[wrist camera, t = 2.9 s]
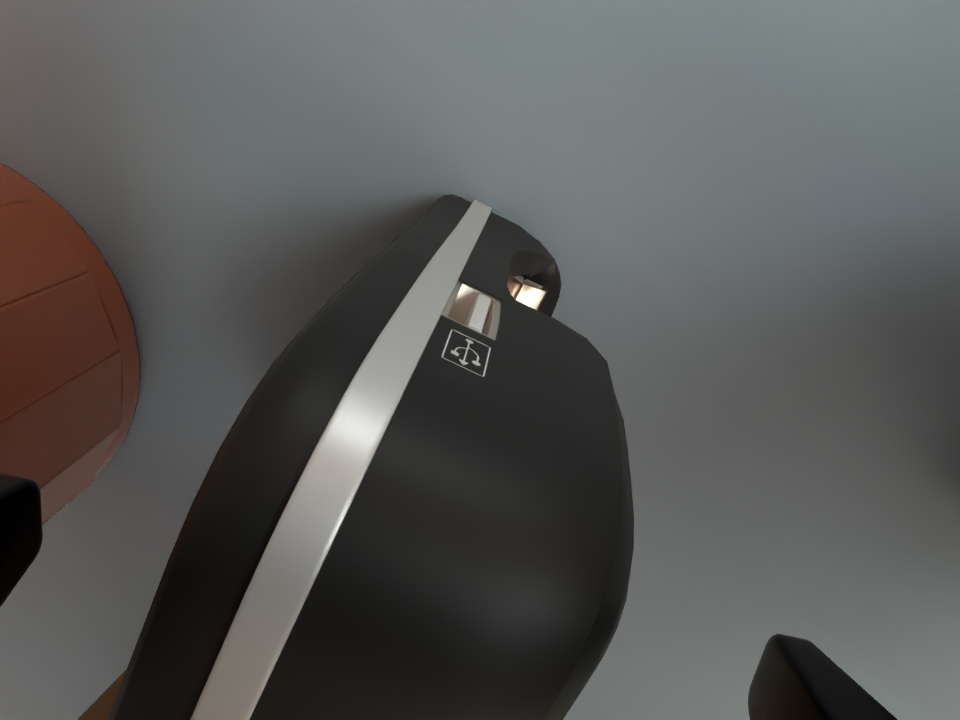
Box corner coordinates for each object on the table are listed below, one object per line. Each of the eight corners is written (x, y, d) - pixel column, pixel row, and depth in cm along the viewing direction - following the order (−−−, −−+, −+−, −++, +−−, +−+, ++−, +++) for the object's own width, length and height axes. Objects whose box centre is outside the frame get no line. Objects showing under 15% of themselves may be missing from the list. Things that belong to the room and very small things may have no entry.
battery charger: (474, 512, 18) (364, 1129, 7) (329, 446, 18) (-4, 987, 7) (614, 255, 16) (751, 616, 5) (449, 175, 15) (219, 372, 5)
